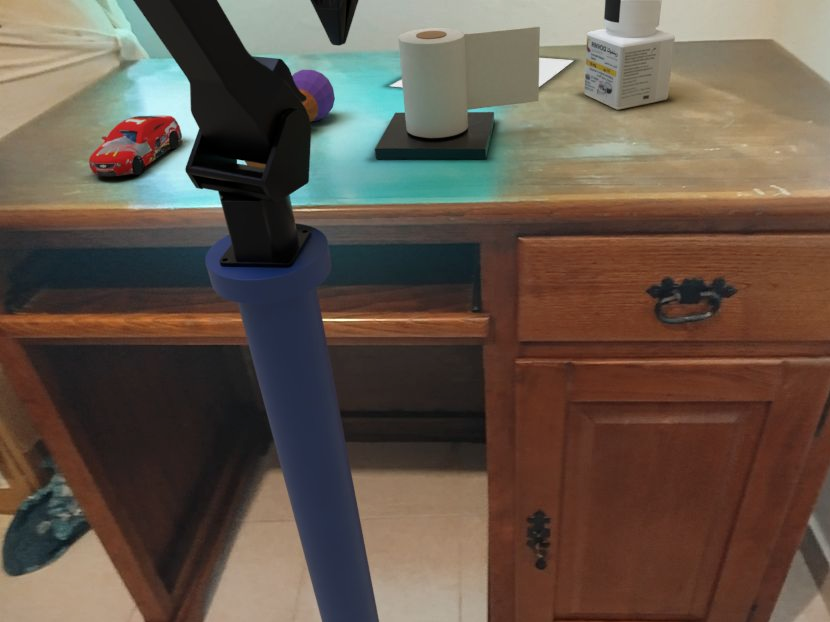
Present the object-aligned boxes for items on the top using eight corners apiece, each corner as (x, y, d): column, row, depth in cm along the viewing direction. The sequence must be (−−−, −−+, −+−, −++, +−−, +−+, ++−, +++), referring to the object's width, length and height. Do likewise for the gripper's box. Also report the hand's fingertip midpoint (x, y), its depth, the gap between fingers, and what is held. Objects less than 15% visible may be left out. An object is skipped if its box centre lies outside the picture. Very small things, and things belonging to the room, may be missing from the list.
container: (582, 94, 94) (588, -16, 87) (632, 85, 97) (642, -24, 89) (616, 111, 89) (626, -6, 81) (668, 100, 91) (682, -15, 84)
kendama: (221, 136, 75) (286, 67, 90) (245, 187, 79) (304, 113, 94) (272, 126, 74) (330, 58, 88) (294, 179, 77) (347, 105, 92)
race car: (129, 184, 76) (117, 147, 74) (84, 182, 77) (70, 145, 75) (192, 139, 87) (183, 105, 84) (151, 137, 88) (141, 104, 85)
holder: (485, 159, 78) (485, 148, 77) (375, 159, 79) (374, 148, 78) (494, 121, 87) (494, 111, 87) (396, 122, 89) (395, 112, 88)
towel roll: (538, 114, 84) (540, 23, 79) (441, 147, 77) (434, 48, 71) (489, 99, 90) (487, 12, 84) (394, 127, 83) (384, 35, 77)
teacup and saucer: (514, 63, 108) (514, 34, 105) (492, 78, 102) (491, 47, 100) (461, 58, 111) (460, 30, 109) (436, 72, 105) (435, 43, 103)
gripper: (310, -163, 68) (335, 17, 77) (149, -153, 56) (201, 60, 65) (408, -167, 63) (422, 25, 72) (255, -158, 51) (295, 74, 60)
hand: (338, 44), depth 67 cm, fingers closed
